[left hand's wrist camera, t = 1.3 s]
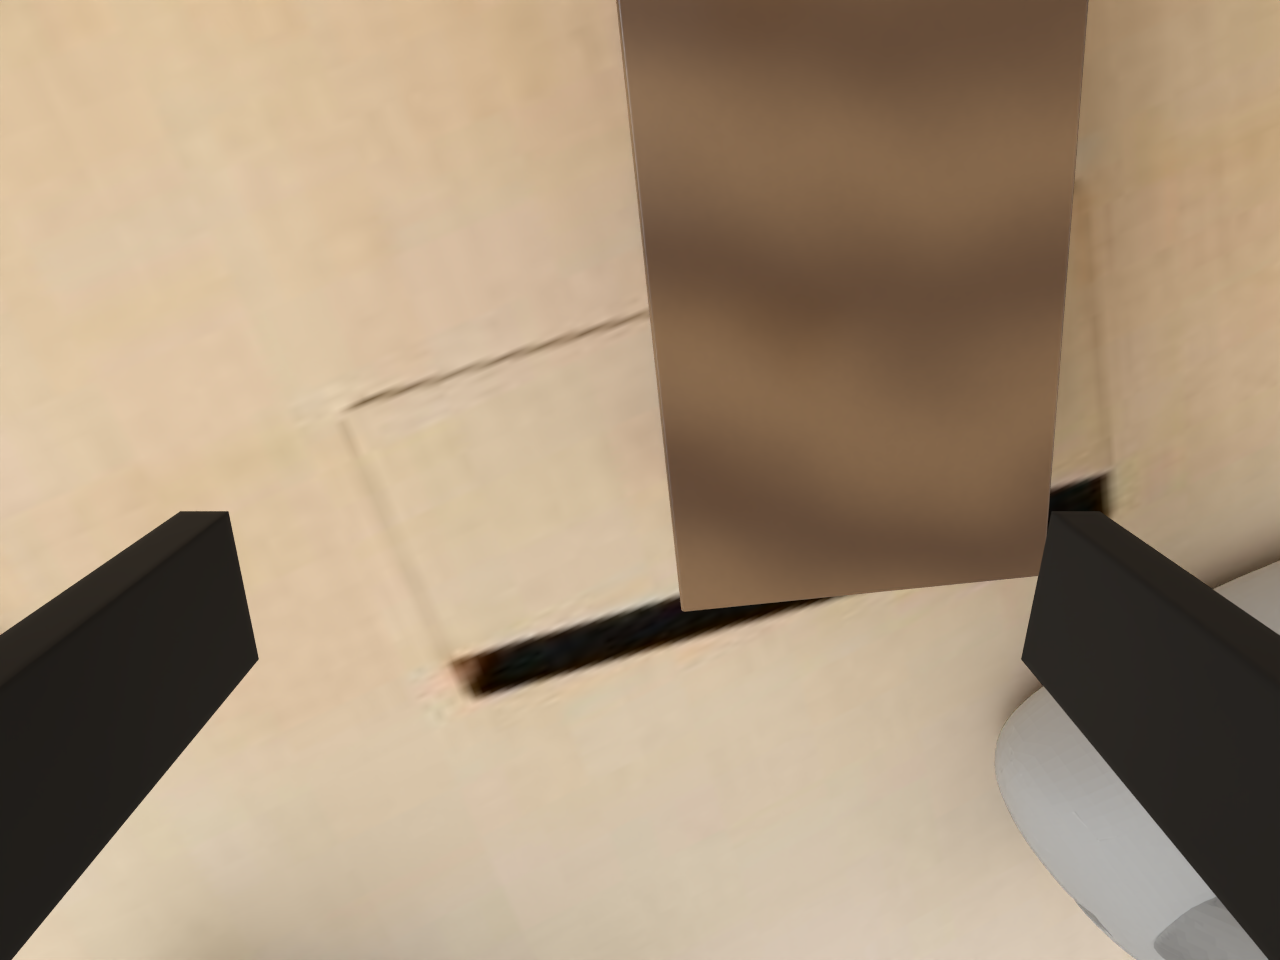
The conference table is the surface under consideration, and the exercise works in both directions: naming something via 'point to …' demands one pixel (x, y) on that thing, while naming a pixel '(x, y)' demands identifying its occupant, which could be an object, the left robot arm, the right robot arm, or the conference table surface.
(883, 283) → the cabinet
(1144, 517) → the conference table surface
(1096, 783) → the projector
